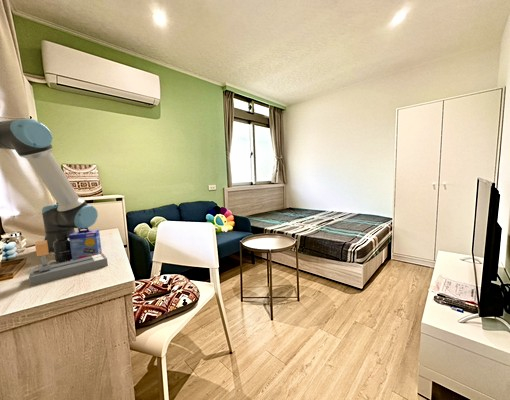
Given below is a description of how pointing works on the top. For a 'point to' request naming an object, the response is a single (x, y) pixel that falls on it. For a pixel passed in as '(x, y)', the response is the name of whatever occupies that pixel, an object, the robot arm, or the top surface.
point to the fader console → (67, 269)
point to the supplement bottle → (62, 247)
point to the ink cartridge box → (85, 243)
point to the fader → (43, 254)
